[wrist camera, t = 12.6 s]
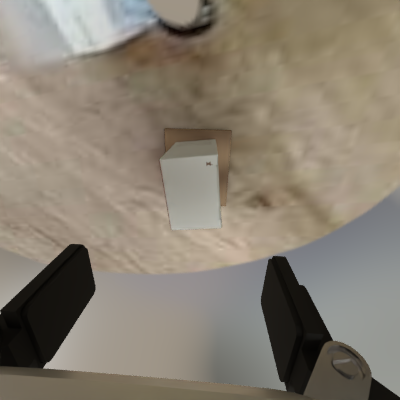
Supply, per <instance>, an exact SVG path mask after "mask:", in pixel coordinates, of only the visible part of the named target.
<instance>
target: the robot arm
mask: <svg viewBox="0 0 400 400" xmlns="http://www.w3.org/2000/svg"><path fill="white" fill-rule="evenodd" d="M94 292H95V282H94V277H93V273H92V268H91V263H90V259H89V254H88V250H87V248H85V246H84V245H81V244H70V245H69V246H68V247H67V248H66V249H65V250H64V251H62V252H61V253H60V254H59V255H58V256H57V257H56V258H55V259H54V260H53V261H52V262H51V263H50V264H49V265H48V266H47V267H46V268H45V269H44V270H42V271H41V272H40V273H39V274H38V275H37V276H36V277H35V278H34V279H33V280H32V281H31V282H30V283H29V284H28V285H27V286H26V287H24V288H23V289H22V290H21V291H20V292H19V293H18V294H17V295H16V296H15V297H14V298H13V299H12V300H11V301H10V302H9V303H8V304H6V306H5V307H3V308H2V309H1V310H0V311H1V314H0V400H400V397H398V396H397V395H396V394H394V393H393V392H392V391H390V390H389V389H387V388H386V387H385V386H383V385H382V384H380V383H379V382H378V381H376V380H375V379H373V378H372V376H371V370H370V368H369V365H368V364H367V362H366V361H365V359H364V358H363V357H362V356H361V355H360V354H359V353H358V352H357V351H356V350H354V349H353V348H352V347H350V346H348V345H346V344H344V343H341V342H338V341H333V339H332V337H331V336H330V334H329V332H328V330H327V328H326V326H325V324H324V322H323V320H322V318H321V317H320V314H319V312H318V310H317V309H316V307H315V305H314V303H313V301H312V299H311V297H310V295H309V293H308V291H307V289H306V288H305V287H304V286H303V285H299V283H298V281H297V279H296V277H295V275H294V273H293V271H292V269H291V267H290V265H289V263H288V261H287V259H286V257H281V256H273V257H272V259H269V260H268V265H267V270H266V276H265V280H264V286H263V291H262V296H261V306H262V310H263V314H264V318H265V322H266V326H267V330H268V334H269V338H270V342H271V346H272V351H273V354H274V359H275V362H276V367H277V371H278V375H279V379H280V381H281V382H285V386H286V390H287V391H281V390H275V389H269V388H259V387H250V386H241V385H232V384H221V383H210V382H199V381H187V380H177V379H166V378H153V377H141V376H130V375H118V374H106V373H93V372H81V371H67V370H55V369H43V367H44V366H45V364H46V363H47V362H49V361H51V359H52V358H53V356H54V355H55V354H56V352H57V350H58V349H59V347H60V346H61V344H62V343H63V341H64V339H65V338H66V336H67V335H68V333H69V332H70V330H71V329H72V327H73V325H74V324H75V322H76V321H77V319H78V318H79V316H80V315H81V313H82V312H83V310H84V309H85V307H86V305H87V304H88V302H89V301H90V299H91V298H92V296H93V295H94Z"/></svg>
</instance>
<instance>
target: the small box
mask: <svg viewBox="0 0 400 400" xmlns="http://www.w3.org/2000/svg"><path fill="white" fill-rule="evenodd" d="M159 162H160V168H161V174H162V180H163V186H164V192H165V198H166V204H167V210H168V216H169V222H170V228H171V230H190V229H216V228H222V219H221V206H220V188H219V169H218V152H217V145H216V140H215V139H210V140H198V141H185V142H176V143H175V144H174V145H173V146H172V147H171V148H170V149H169V150H168V151H167V152H166V153H165V154H164V155H163V156H162V157H161V158H160V159H159Z"/></svg>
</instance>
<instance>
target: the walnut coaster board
mask: <svg viewBox="0 0 400 400" xmlns="http://www.w3.org/2000/svg"><path fill="white" fill-rule="evenodd" d="M231 134H232V131H231V130H204V129H171V128H166V129H165V153H166V152H167V151H168V150H169V149H170V148H171V147H172V146H173V145H174V144H175V143H176V142H185V141H198V140H210V139H215V140H216V145H217V152H218V169H219V188H220V206H226V197H227V185H228V172H229V159H230V146H231Z"/></svg>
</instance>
